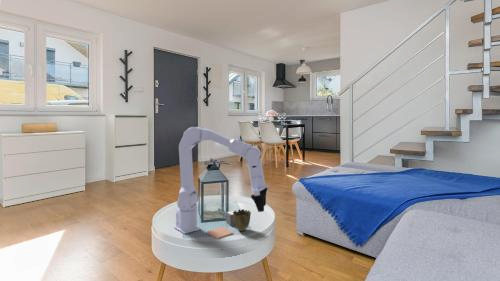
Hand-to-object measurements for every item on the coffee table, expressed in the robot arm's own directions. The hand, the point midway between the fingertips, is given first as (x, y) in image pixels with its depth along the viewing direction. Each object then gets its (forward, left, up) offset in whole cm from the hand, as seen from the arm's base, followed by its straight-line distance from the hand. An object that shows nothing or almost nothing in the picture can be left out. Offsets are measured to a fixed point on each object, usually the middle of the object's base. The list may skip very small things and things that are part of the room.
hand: (262, 208), depth 115 cm
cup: (-8, -4, -11) cm, 14 cm away
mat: (-12, -13, -11) cm, 20 cm away
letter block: (-17, -2, -11) cm, 20 cm away
